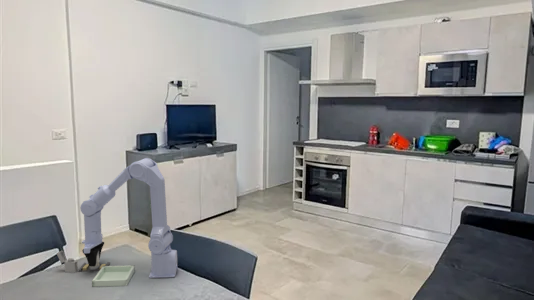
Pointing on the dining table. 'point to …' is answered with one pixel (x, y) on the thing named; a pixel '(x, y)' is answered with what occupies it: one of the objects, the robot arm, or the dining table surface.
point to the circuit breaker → (68, 263)
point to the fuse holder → (86, 269)
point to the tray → (113, 276)
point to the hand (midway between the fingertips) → (94, 263)
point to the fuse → (96, 263)
